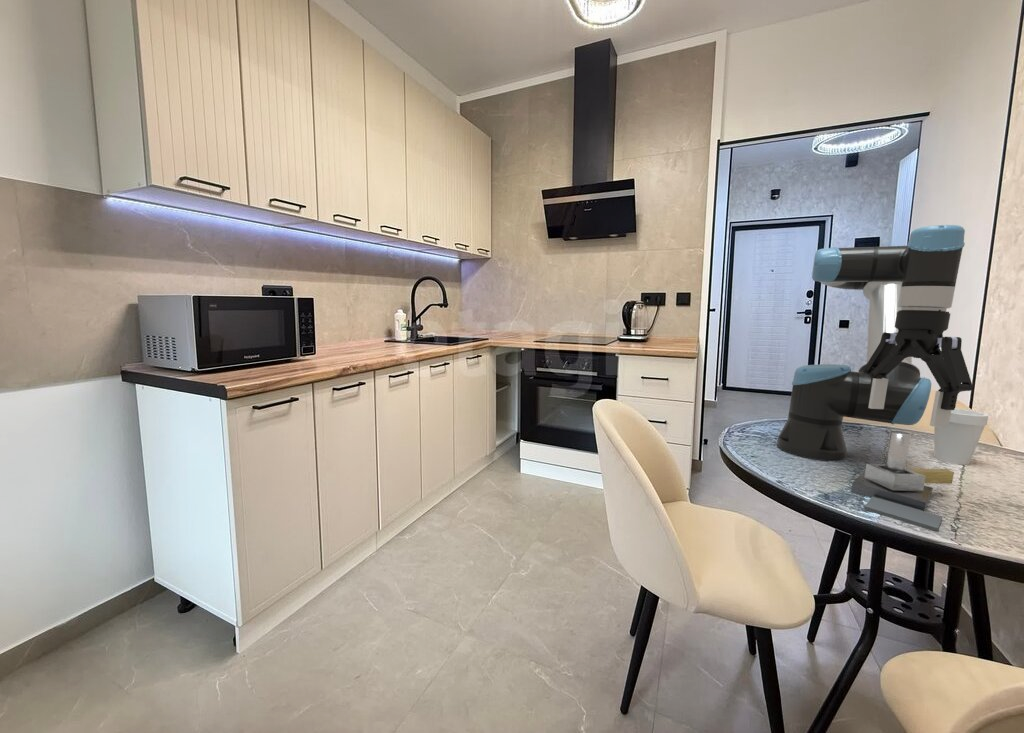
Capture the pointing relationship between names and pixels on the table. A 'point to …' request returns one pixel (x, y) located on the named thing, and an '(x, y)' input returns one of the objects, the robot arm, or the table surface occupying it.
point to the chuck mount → (892, 493)
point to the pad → (904, 513)
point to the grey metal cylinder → (897, 452)
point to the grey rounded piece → (959, 436)
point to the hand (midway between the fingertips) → (904, 416)
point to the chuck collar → (907, 477)
